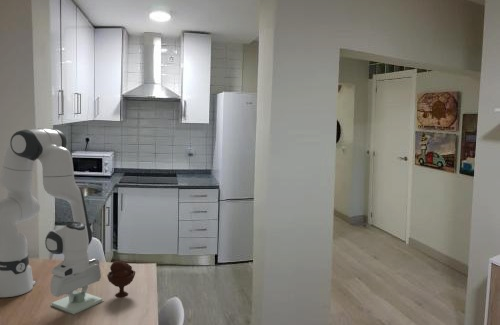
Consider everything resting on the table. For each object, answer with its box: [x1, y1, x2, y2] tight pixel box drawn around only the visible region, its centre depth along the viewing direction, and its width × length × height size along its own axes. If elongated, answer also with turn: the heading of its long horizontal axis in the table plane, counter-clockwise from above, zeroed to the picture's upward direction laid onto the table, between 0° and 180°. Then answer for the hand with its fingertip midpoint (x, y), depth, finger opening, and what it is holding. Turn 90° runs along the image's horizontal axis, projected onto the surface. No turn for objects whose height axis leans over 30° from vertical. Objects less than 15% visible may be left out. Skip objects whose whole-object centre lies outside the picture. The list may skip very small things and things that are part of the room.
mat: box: [50, 300, 105, 316], centre depth 162 cm, size 14×14×1 cm
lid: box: [51, 290, 103, 315], centre depth 162 cm, size 13×13×4 cm
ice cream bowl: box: [106, 260, 136, 298], centre depth 170 cm, size 11×11×15 cm
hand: (77, 299), depth 162 cm, fingers open, 3 cm apart
